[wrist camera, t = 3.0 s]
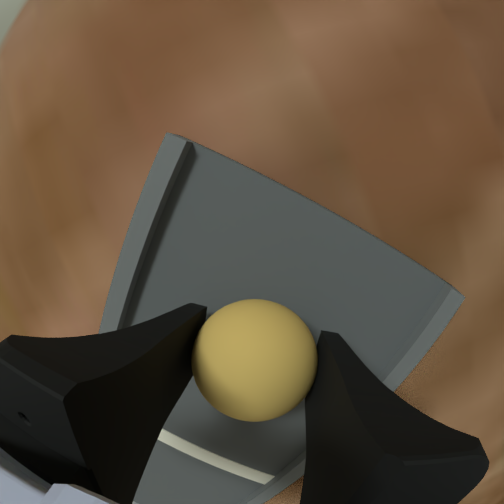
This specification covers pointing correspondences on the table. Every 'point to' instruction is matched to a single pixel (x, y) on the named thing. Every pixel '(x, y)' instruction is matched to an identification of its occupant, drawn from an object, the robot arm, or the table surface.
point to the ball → (254, 360)
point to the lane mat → (267, 288)
